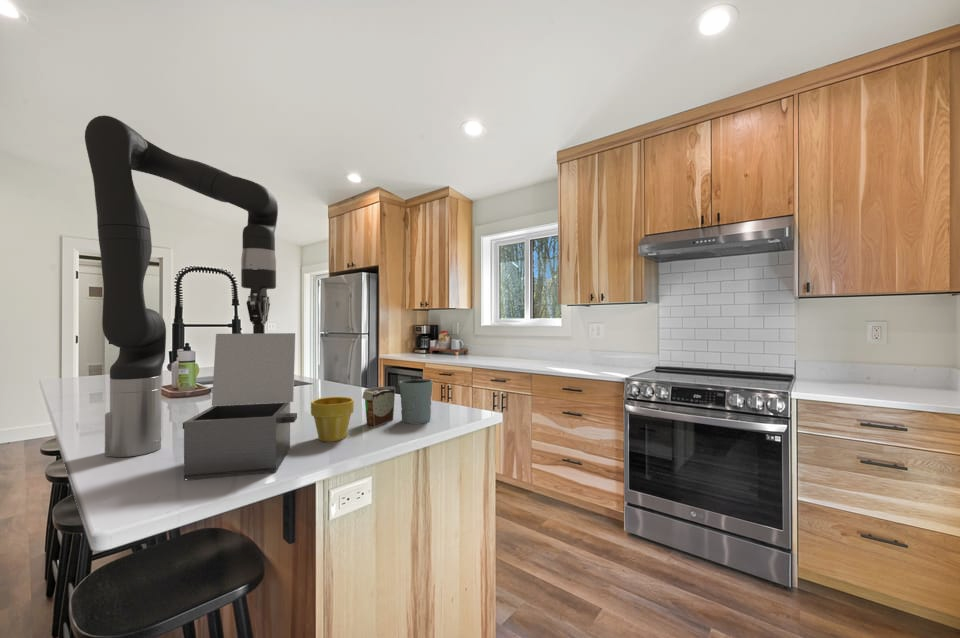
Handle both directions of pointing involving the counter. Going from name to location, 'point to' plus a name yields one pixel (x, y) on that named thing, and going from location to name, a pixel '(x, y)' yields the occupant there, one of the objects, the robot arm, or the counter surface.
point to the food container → (379, 405)
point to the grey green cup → (416, 400)
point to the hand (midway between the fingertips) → (258, 339)
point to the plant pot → (332, 417)
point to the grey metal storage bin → (237, 440)
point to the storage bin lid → (253, 368)
